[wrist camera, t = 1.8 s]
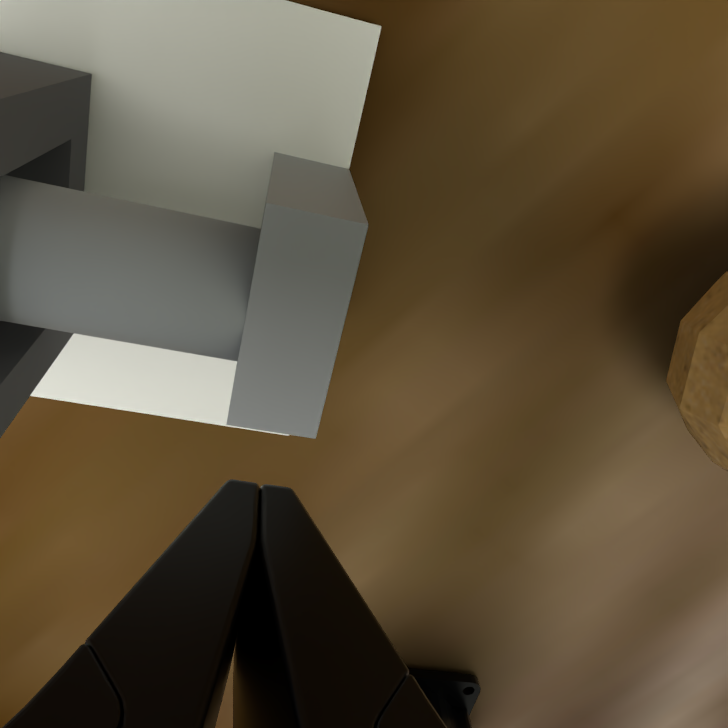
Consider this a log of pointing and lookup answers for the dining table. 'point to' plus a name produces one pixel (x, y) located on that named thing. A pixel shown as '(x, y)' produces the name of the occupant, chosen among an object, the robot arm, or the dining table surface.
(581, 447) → the dining table surface
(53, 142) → the collar
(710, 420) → the potato
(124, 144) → the pipe rig
